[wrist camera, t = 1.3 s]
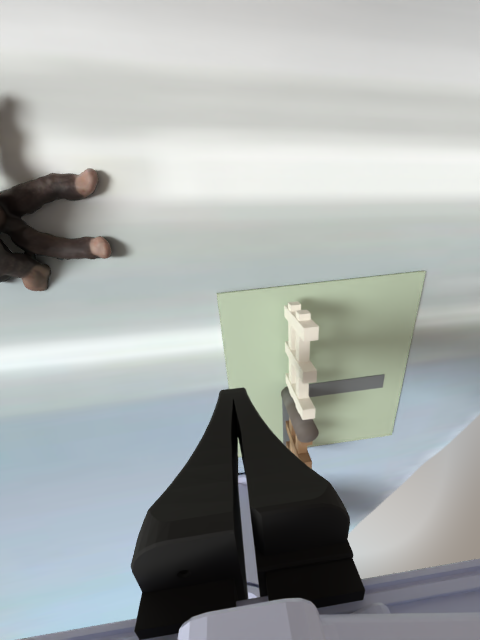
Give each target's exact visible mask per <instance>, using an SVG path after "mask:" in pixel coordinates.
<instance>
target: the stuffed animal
mask: <svg viewBox="0 0 480 640" xmlns="http://www.w3.org/2000/svg"><path fill="white" fill-rule="evenodd" d="M97 183H98V175H97V172H96V171H95V170H93V169H86V170H85V171H84V172H82V173H81V174H80V175H75V174H56V173H52V174H49V175H47V176H44V177H40V178H38V179H36V180H32V181H29V182H26V183H23V184H19V185H17V186H14V187H12V188H11V189H9V190H5V191H3V192H1V193H0V234H1V233H5V234H8V235H9V236H10V237H11V240H12V241H13V242H14V243H15V244H16V245H17V246H18V247H19V248H21V249H22V250H24V251H25V253H18V252H15V253H12V252H11V251H10V249H9V248H8V247H7V246H6V244H5V243H4V242H3V241H2V240H1V239H0V282H3V281H6V280H8V279H10V278H13V277H19V278H22V280H23V283H24V286H25V287H26V288H28V289H30V290H33V291H44V290H46V289H47V288H48V280H49V276H50V274H51V270H50V268H49V266H48V265H46V264H41V263H40V262H38V261H36V260H35V254H37V255H44V256H50V257H55V258H57V259H60V260H63V259H67V260H68V259H83V258H88V259H95V258H97V257H98V256H99V257H101V258H104V259H105V258H109V257H110V256H111V247H110V244H109V243H108V242H107V240H106V239H105V238H103V237H101V236H98V237H96V238H92V237H82V238H76V239H66V238H61V237H56V236H53V235H51V234H47V233H42V232H38V231H36V230H35V229H34V228H32V227H30V226H29V225H27V224H26V223H25V222H24V221H23V220H22V219H21V217H22V216H23V215H25V214H31V213H33V212H35V211H36V210H38V209H39V208H41V207H42V205H44V204H45V203H48V202H52V201H54V200H56V199H67V200H80V199H82V198H86V197H87V196H89V195H90V194H92V193H93V192H94V190H95V188H96V186H97Z"/></svg>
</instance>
